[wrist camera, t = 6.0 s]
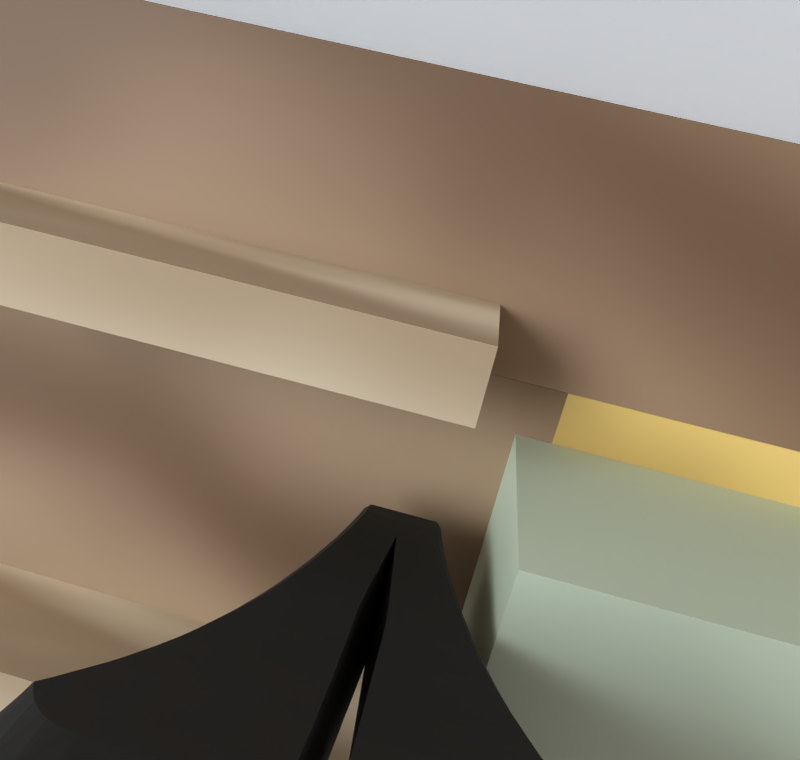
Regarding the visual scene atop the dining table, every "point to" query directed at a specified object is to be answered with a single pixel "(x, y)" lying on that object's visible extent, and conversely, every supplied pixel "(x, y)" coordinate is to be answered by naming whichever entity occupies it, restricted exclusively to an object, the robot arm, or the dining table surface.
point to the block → (638, 611)
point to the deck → (344, 310)
